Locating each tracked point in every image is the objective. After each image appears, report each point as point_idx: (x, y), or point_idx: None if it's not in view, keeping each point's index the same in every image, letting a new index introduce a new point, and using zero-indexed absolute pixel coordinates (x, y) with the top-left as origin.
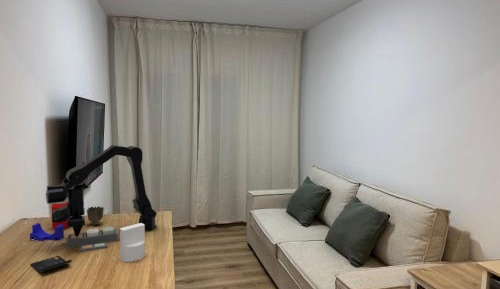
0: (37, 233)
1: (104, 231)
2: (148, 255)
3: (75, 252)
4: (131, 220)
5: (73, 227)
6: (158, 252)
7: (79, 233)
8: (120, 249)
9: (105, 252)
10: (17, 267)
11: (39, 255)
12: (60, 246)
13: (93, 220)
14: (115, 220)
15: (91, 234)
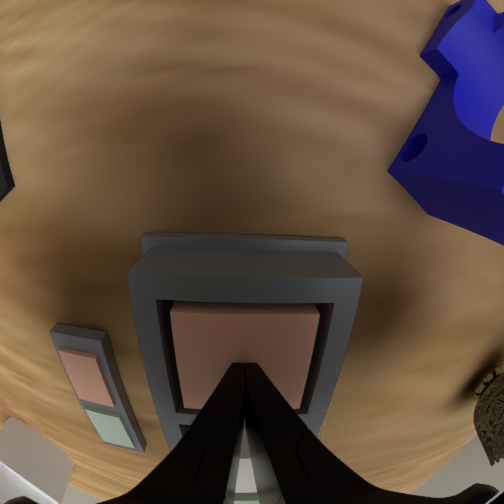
0: (483, 24)
1: None
2: None
3: (53, 298)
4: (407, 472)
5: (159, 471)
6: (73, 481)
7: (318, 387)
8: (1, 443)
9: (57, 413)
10: (12, 5)
11: (88, 36)
12: (216, 175)
13: (487, 399)
14: (453, 433)
15: None
